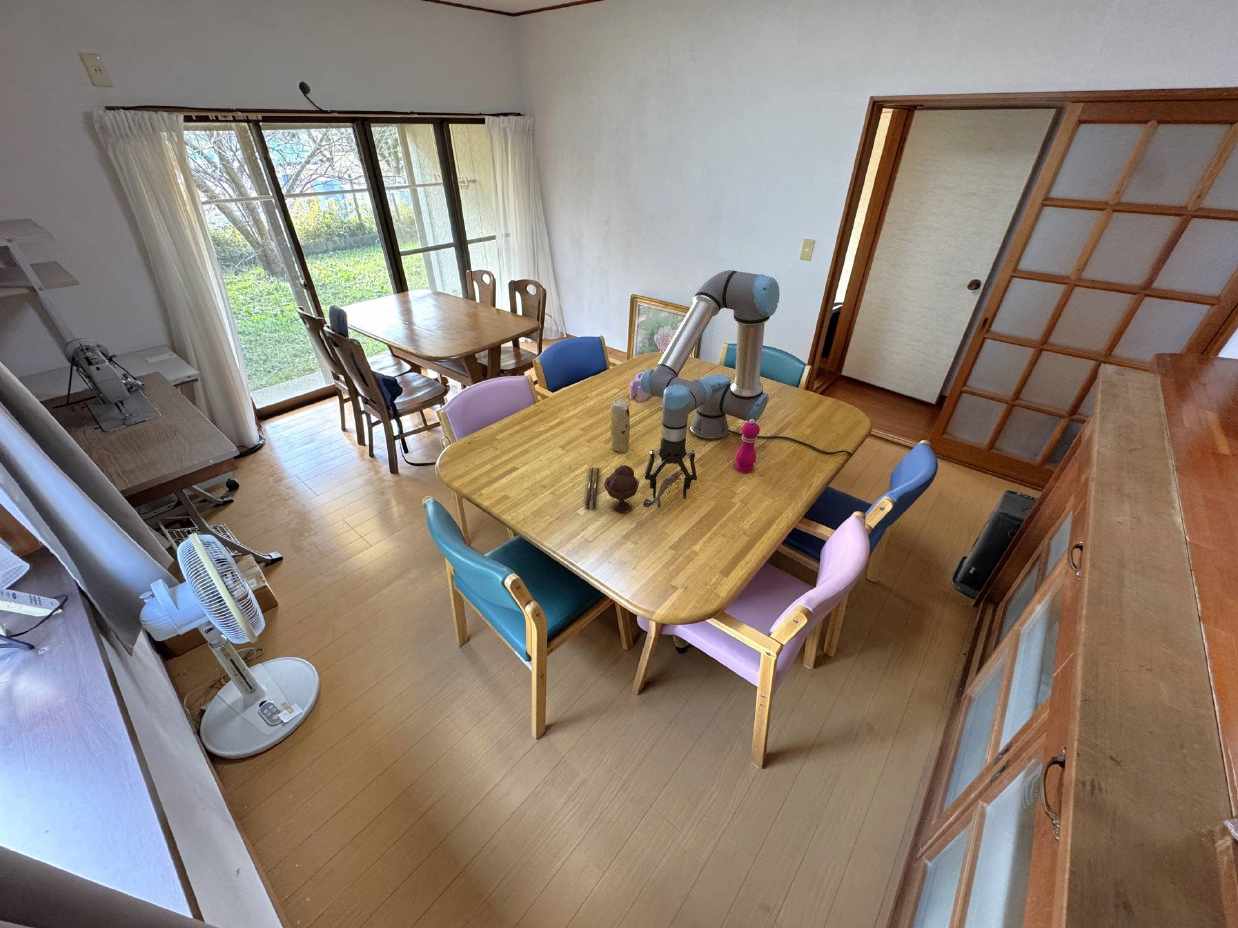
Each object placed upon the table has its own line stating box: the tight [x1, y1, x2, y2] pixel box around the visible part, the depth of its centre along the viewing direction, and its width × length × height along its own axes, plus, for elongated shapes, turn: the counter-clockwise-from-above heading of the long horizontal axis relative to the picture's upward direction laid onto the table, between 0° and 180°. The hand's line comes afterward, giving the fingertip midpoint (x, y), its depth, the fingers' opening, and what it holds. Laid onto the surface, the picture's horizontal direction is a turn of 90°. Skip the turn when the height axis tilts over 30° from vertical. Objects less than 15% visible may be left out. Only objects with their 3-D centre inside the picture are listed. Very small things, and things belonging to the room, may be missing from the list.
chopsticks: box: [585, 467, 599, 510], centre depth 164 cm, size 3×23×1 cm, turn 179°
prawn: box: [642, 467, 689, 510], centre depth 155 cm, size 25×12×7 cm, turn 144°
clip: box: [629, 371, 654, 402], centre depth 225 cm, size 20×12×7 cm, turn 148°
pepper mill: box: [734, 419, 761, 474], centre depth 168 cm, size 7×7×20 cm
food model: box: [610, 397, 631, 453], centre depth 180 cm, size 10×7×20 cm
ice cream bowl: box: [603, 464, 640, 513], centre depth 151 cm, size 11×11×15 cm
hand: (669, 495), depth 156 cm, fingers closed on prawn, 9 cm apart
